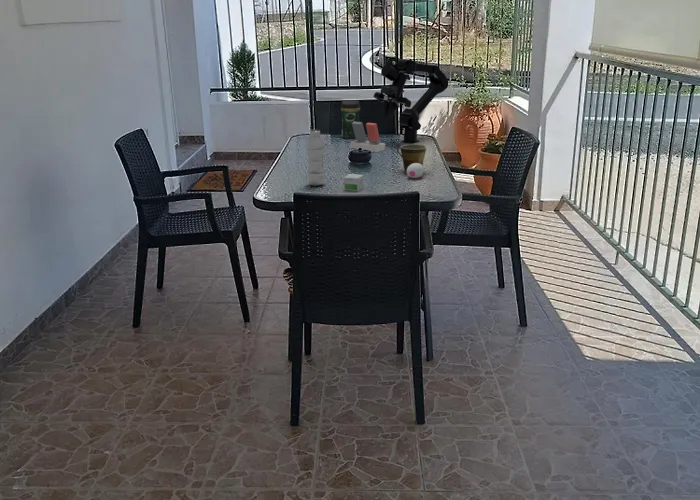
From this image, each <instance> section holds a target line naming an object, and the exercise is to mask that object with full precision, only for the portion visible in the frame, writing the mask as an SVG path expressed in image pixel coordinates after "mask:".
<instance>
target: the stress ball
mask: <svg viewBox="0 0 700 500" xmlns="http://www.w3.org/2000/svg"><path fill="white" fill-rule="evenodd" d="M424 172H425V167H424V165H423V166H422V165H421V164H419V163H413V164H411V165H410V166H409V167H408V168H407V173H406V176H407V177H409V178H411V179H418V178H419V180H422V176H423V174H424Z"/></svg>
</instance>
